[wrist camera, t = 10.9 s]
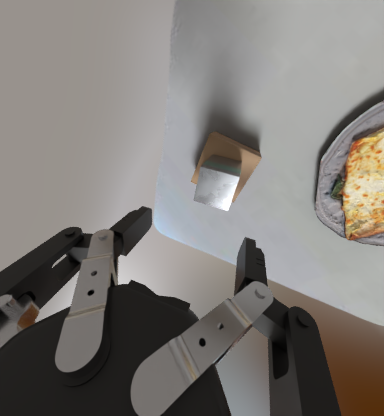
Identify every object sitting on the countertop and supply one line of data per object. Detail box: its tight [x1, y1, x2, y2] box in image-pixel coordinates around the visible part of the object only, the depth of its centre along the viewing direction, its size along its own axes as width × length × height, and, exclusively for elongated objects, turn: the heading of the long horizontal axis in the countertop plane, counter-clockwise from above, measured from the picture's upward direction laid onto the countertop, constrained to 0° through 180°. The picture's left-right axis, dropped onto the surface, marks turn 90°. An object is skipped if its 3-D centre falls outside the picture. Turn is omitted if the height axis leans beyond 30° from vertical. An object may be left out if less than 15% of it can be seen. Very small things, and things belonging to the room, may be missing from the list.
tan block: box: [191, 132, 262, 203], centre depth 29 cm, size 9×9×5 cm
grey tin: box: [194, 154, 242, 211], centre depth 24 cm, size 5×5×8 cm
